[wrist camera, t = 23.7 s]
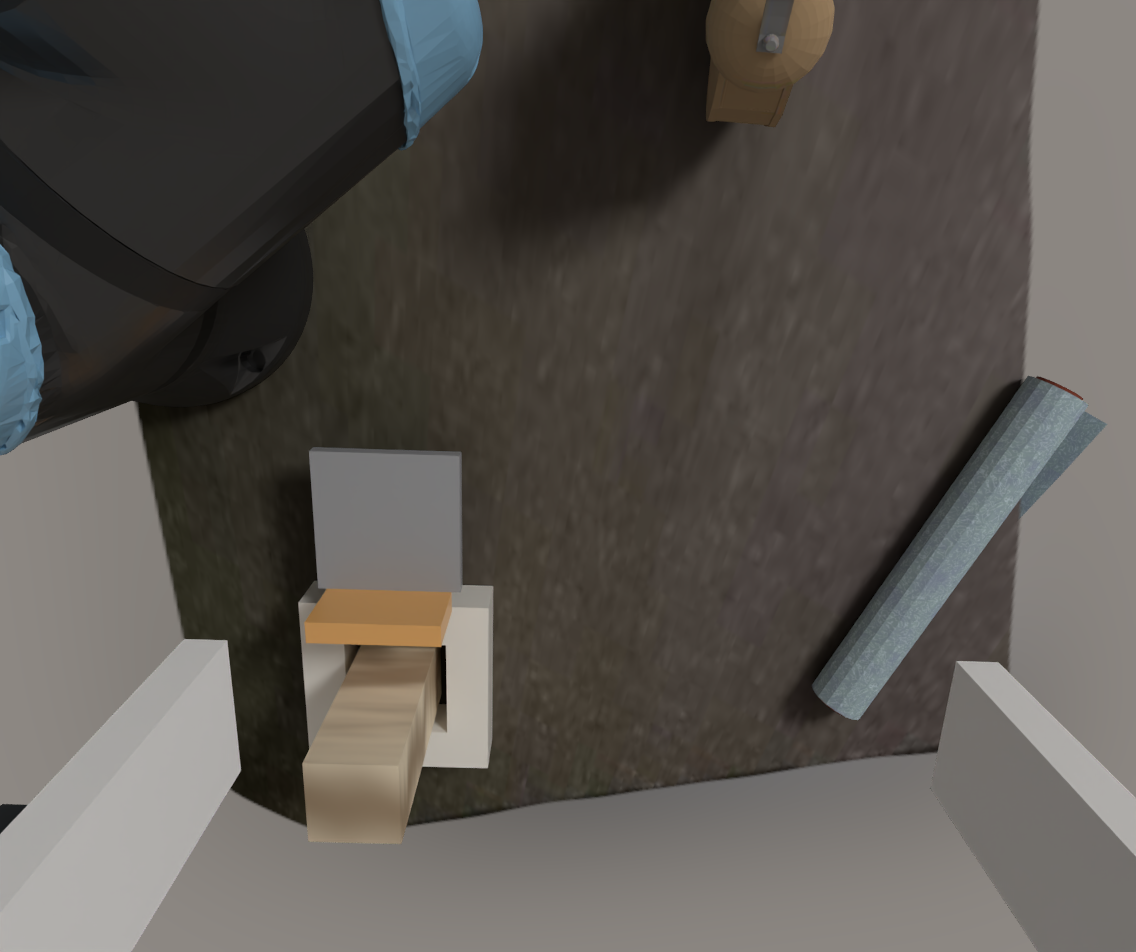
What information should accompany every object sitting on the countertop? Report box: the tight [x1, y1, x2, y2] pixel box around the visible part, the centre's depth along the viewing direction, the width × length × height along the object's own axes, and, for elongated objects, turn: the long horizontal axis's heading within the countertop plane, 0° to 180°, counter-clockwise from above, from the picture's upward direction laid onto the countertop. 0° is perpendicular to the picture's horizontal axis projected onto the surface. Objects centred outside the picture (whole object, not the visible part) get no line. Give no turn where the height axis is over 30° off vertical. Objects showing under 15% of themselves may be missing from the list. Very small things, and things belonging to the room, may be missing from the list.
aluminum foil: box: [812, 376, 1107, 720], centre depth 46 cm, size 23×7×3 cm, turn 152°
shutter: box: [304, 447, 462, 647], centre depth 41 cm, size 8×9×5 cm
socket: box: [298, 581, 493, 768], centre depth 48 cm, size 11×11×3 cm
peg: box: [302, 645, 442, 844], centre depth 43 cm, size 4×4×13 cm
